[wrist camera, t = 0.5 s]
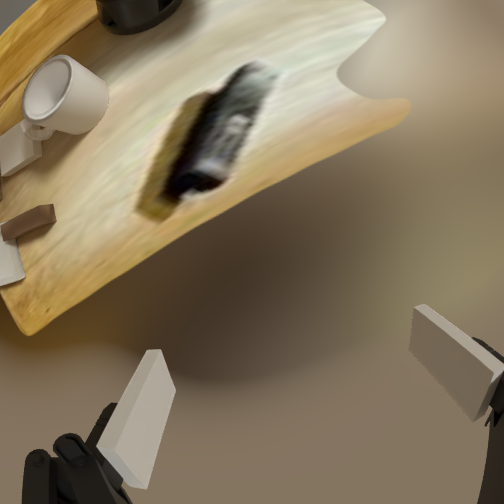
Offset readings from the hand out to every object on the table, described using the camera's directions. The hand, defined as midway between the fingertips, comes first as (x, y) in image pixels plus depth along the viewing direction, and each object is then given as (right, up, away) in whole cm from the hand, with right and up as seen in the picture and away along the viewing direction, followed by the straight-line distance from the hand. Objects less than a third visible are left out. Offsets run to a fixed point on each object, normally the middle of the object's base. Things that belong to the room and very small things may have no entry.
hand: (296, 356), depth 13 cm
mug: (-30, +28, +21) cm, 46 cm away
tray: (-52, +4, +25) cm, 58 cm away
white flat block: (-44, +24, +22) cm, 55 cm away
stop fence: (-41, +10, +24) cm, 49 cm away
